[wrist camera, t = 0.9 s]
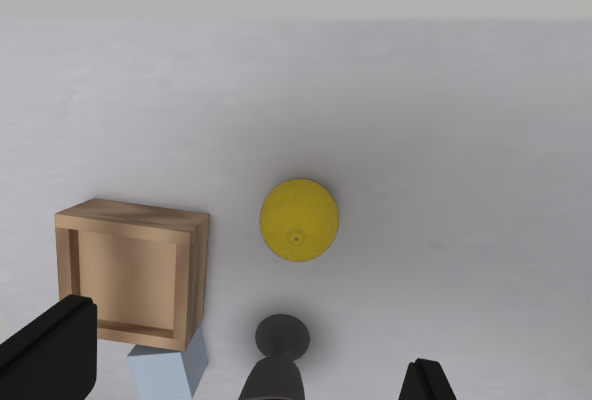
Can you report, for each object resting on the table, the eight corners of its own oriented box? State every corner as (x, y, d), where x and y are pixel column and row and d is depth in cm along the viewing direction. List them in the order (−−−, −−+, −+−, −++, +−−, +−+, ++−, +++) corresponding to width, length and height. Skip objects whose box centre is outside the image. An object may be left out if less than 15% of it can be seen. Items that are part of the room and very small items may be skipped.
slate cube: (198, 319, 32) (180, 352, 28) (208, 360, 33) (192, 399, 29) (152, 323, 32) (126, 356, 28) (163, 364, 33) (140, 402, 29)
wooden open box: (209, 214, 29) (190, 232, 25) (203, 318, 32) (184, 351, 27) (93, 198, 29) (54, 213, 25) (96, 302, 32) (61, 333, 28)
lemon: (283, 244, 29) (270, 292, 22) (258, 184, 28) (235, 212, 20) (345, 223, 29) (355, 265, 21) (322, 160, 27) (323, 180, 20)
